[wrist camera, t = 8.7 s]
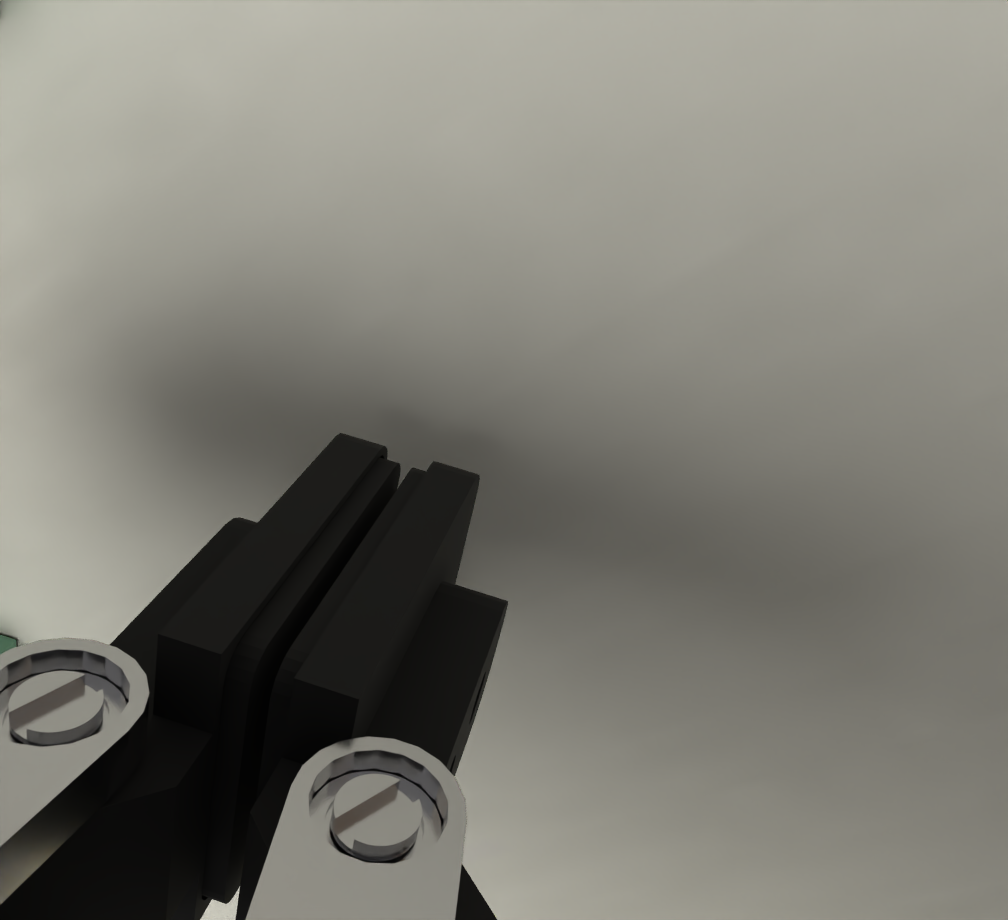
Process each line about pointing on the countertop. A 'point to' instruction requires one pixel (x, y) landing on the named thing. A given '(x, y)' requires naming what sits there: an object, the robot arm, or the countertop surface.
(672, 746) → the countertop surface
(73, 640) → the robot arm
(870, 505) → the countertop surface
